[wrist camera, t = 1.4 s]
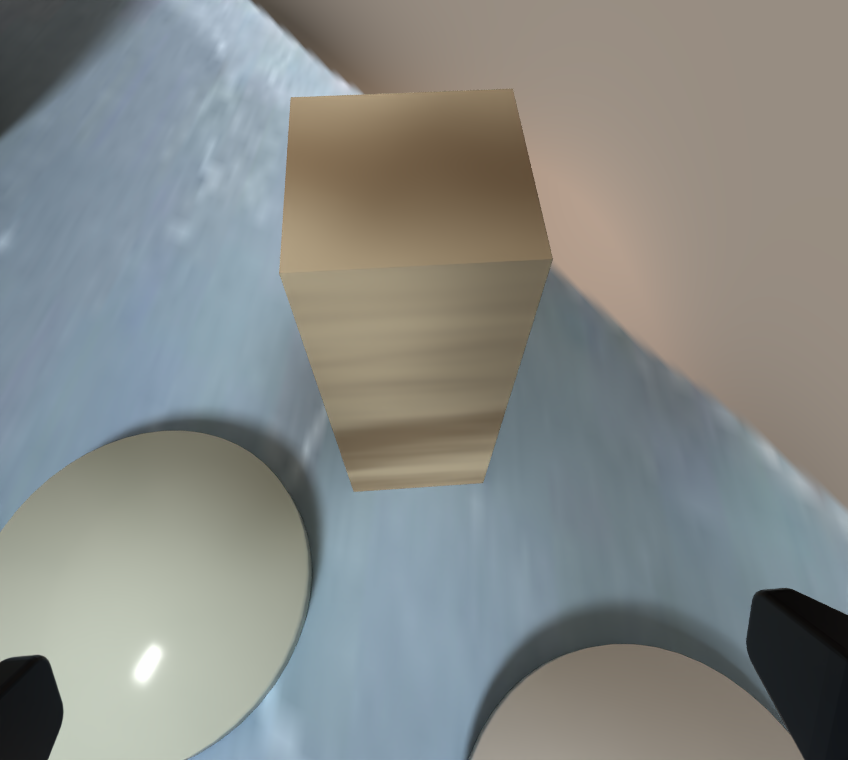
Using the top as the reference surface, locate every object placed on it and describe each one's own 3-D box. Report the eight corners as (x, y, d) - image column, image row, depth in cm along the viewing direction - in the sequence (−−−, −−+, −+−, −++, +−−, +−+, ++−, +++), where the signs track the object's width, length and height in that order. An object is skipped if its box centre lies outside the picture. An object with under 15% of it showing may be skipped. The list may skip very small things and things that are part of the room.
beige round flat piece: (369, 633, 19) (366, 629, 18) (43, 867, 16) (16, 880, 15) (232, 395, 23) (223, 381, 22) (-46, 544, 20) (-71, 537, 19)
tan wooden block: (483, 483, 22) (552, 259, 10) (353, 491, 22) (279, 273, 10) (468, 371, 24) (513, 88, 13) (352, 378, 24) (290, 97, 12)
